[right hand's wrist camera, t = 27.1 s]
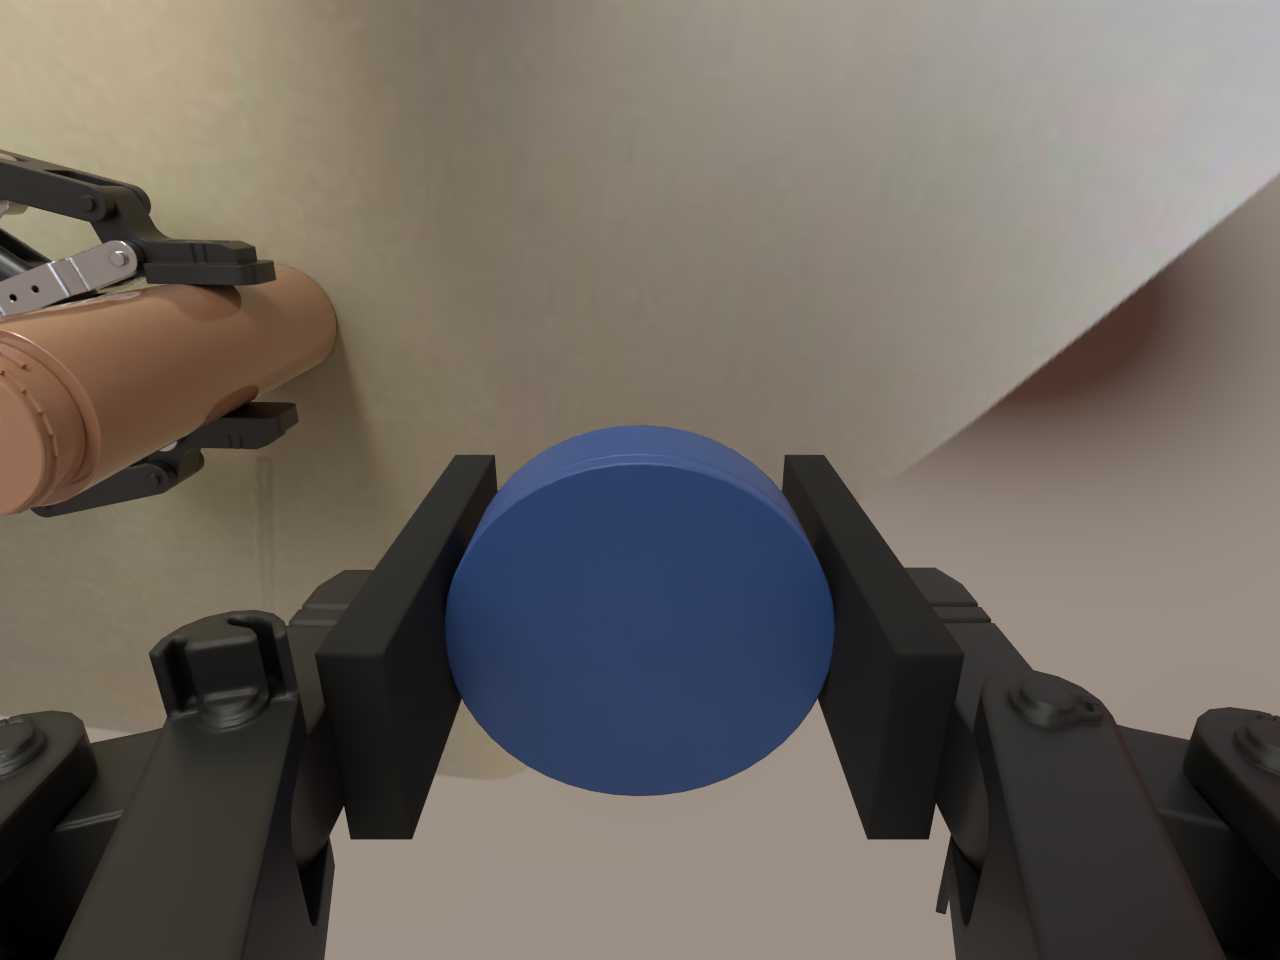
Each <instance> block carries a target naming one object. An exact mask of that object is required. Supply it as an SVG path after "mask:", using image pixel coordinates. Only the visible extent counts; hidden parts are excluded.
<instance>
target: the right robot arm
mask: <svg viewBox="0 0 1280 960" xmlns="http://www.w3.org/2000/svg"><path fill="white" fill-rule="evenodd" d="M782 493H783V494H784V495H785V497H786V499H787V500H788V502H789V504H790V505H791V507H792V508H793V510H794V512H795V513H796V515H797V517H798V519H799V521H800V523H801V526H802V528H803V530H804V532H805V534H806V536H807V538H808V540H809V542H810V544H811V546H812V548H813V550H814V552H815V554H816V556H817V558H818V560H819V562H820V565H821V567H822V569H823V572H824V574H825V576H826V579H827V581H828V584H829V588H830V592H831V596H832V600H833V604H834V615H835V633H834V642H833V651H832V659H831V665H830V670H829V672H828V675H827V678H826V680H825V683H824V686H823V688H822V691H821V693H820V694H819V696H818V701H819V703H820V706H821V709H822V712H823V715H824V718H825V720H826V723H827V726H828V729H829V732H830V734H831V737H832V740H833V743H834V746H835V749H836V751H837V754H838V757H839V760H840V763H841V766H842V768H843V771H844V774H845V777H846V780H847V783H848V785H849V788H850V791H851V794H852V797H853V800H854V802H855V805H856V808H857V811H858V814H859V816H860V819H861V822H862V825H863V828H864V831H865V833H866V836H867V839H929V836H930V830H931V825H932V820H933V815H934V810H935V805H936V804H937V806H938V808H939V810H940V812H941V814H942V816H943V818H944V820H945V822H946V824H947V826H948V828H949V830H950V832H951V837H950V842H949V846H948V851H947V856H946V861H945V866H944V870H943V875H942V880H941V885H940V890H939V894H938V900H937V907H936V912H938V913H942V914H946V910H947V905H948V901H949V902H950V911H951V919H952V928H953V936H954V946H955V954H956V960H1280V717H1279V716H1276V715H1275V716H1272V715H1271V714H1269V713H1265V712H1260V711H1254V710H1247V709H1239V708H1232V707H1228V708H1218V709H1210V710H1208V711H1207V712H1205V713H1204V714H1202V715H1201V716H1200V717H1198V719H1197V722H1196V725H1195V728H1194V731H1193V734H1192V736H1191V739H1190V740H1186V739H1182V738H1177V737H1172V736H1167V735H1162V734H1157V733H1152V732H1147V731H1142V730H1137V729H1132V728H1128V727H1124V726H1120V725H1117V724H1116V722H1115V720H1114V718H1113V716H1112V715H1111V713H1110V712H1109V711H1108V709H1107V708H1106V707H1105V706H1104V704H1103V703H1102V702H1101V701H1100V700H1099V699H1097V698H1096V697H1095V696H1093V695H1092V694H1091V693H1089V692H1088V691H1086V690H1085V689H1084V688H1082V687H1080V686H1078V685H1076V684H1074V683H1071V682H1069V681H1067V680H1065V679H1063V678H1060V677H1058V676H1054V675H1050V674H1046V673H1042V672H1038V671H1034V670H1033V669H1032V668H1031V667H1030V666H1029V664H1028V663H1027V662H1026V661H1025V660H1024V658H1023V657H1022V656H1021V655H1020V654H1019V652H1018V651H1017V650H1016V649H1015V648H1014V646H1013V645H1012V644H1011V643H1010V641H1009V640H1008V639H1007V638H1006V637H1005V635H1004V634H1003V633H1002V632H1001V631H1000V629H999V628H998V627H997V626H996V625H995V624H994V623H991V619H990V617H989V616H988V615H987V614H986V613H985V611H984V610H983V609H982V608H981V607H978V603H977V602H976V600H975V599H974V598H973V597H972V596H971V594H970V593H969V592H968V591H967V590H966V588H965V587H964V586H963V585H962V584H961V583H959V582H958V581H956V580H954V579H953V578H951V577H949V576H948V575H946V574H945V573H943V572H941V571H940V570H938V569H936V568H904V567H903V566H902V564H901V563H900V562H899V560H898V559H897V557H896V556H895V554H894V553H893V552H892V550H891V549H890V547H889V546H888V545H887V543H886V542H885V540H884V539H883V538H882V536H881V535H880V533H879V532H878V531H877V529H876V528H875V526H874V525H873V523H872V522H871V521H870V519H869V518H868V516H867V515H866V514H865V512H864V511H863V509H862V508H861V507H860V505H859V504H858V502H857V501H856V500H855V498H854V497H853V495H852V494H851V492H850V491H849V490H848V488H847V487H846V485H845V484H844V483H843V481H842V480H841V478H840V477H839V476H838V474H837V473H836V471H835V470H834V469H833V467H832V466H831V464H830V463H829V461H828V460H827V459H826V457H825V456H824V455H785V461H784V473H783V486H782ZM496 494H497V479H496V466H495V455H455V457H454V458H453V459H452V461H451V462H450V464H449V465H448V466H447V468H446V469H445V471H444V472H443V473H442V475H441V476H440V478H439V479H438V481H437V482H436V483H435V485H434V486H433V488H432V489H431V490H430V492H429V493H428V495H427V496H426V497H425V499H424V500H423V502H422V503H421V504H420V506H419V507H418V509H417V510H416V512H415V513H414V514H413V516H412V517H411V519H410V520H409V521H408V523H407V524H406V526H405V527H404V528H403V530H402V531H401V533H400V534H399V535H398V537H397V538H396V540H395V541H394V542H393V544H392V545H391V547H390V548H389V550H388V551H387V552H386V554H385V555H384V557H383V558H382V559H381V561H380V562H379V564H378V565H377V566H376V568H375V569H374V570H344V571H342V572H341V573H339V574H338V575H336V576H334V577H333V578H331V579H329V580H328V581H326V582H325V583H323V584H321V585H320V586H318V587H317V588H316V590H315V591H314V592H313V593H312V594H311V596H310V597H309V598H308V599H307V601H306V602H305V603H304V604H303V605H302V610H298V611H297V613H296V614H295V615H294V616H293V618H292V619H291V620H290V621H289V626H285V622H284V621H283V620H282V619H280V618H279V617H278V616H276V615H275V614H273V613H268V612H262V611H257V610H249V611H231V612H227V613H222V614H218V615H213V616H209V617H205V618H203V619H200V620H198V621H195V622H192V623H190V624H187V625H185V626H182V627H180V628H179V629H177V630H176V631H174V632H172V633H171V634H169V635H167V636H166V637H164V638H163V639H161V640H160V641H159V642H158V644H157V645H156V646H155V647H154V648H153V649H152V650H151V651H150V652H149V656H150V659H151V663H152V666H153V669H154V673H155V676H156V680H157V683H158V686H159V690H160V693H161V697H162V700H163V703H164V707H165V710H166V714H167V719H166V721H165V723H164V726H163V728H160V729H156V730H152V731H149V732H144V733H139V734H134V735H129V736H124V737H119V738H114V739H109V740H105V741H100V742H95V743H90V741H89V738H88V735H87V732H86V730H85V727H84V724H83V721H82V720H80V719H79V718H78V717H76V716H75V715H73V714H72V713H68V712H59V711H44V712H37V713H29V714H22V715H18V716H14V717H10V718H9V719H7V720H6V719H3V720H0V960H324V956H325V948H326V939H327V930H328V921H329V912H330V903H331V895H332V886H333V877H334V869H335V864H334V858H333V852H332V847H331V842H330V837H329V835H330V833H331V831H332V829H333V827H334V825H335V823H336V821H337V819H338V817H339V815H340V813H341V810H342V808H343V806H344V807H345V812H346V817H347V823H348V828H349V833H350V838H351V839H412V838H413V835H414V832H415V829H416V827H417V824H418V821H419V818H420V815H421V812H422V810H423V807H424V804H425V801H426V798H427V795H428V793H429V790H430V787H431V784H432V781H433V778H434V776H435V773H436V770H437V767H438V764H439V761H440V759H441V756H442V753H443V750H444V747H445V745H446V742H447V739H448V736H449V733H450V730H451V728H452V725H453V722H454V719H455V716H456V713H457V711H458V708H459V705H460V702H461V699H462V697H461V695H460V693H459V691H458V689H457V687H456V685H455V682H454V679H453V676H452V673H451V670H450V667H449V663H448V655H447V647H446V638H445V626H444V617H445V610H446V603H447V597H448V593H449V590H450V587H451V584H452V580H453V577H454V574H455V572H456V570H457V568H458V566H459V564H460V562H461V560H462V558H463V556H464V554H465V552H466V550H467V547H468V546H469V543H470V541H471V539H472V537H473V535H474V533H475V531H476V529H477V527H478V525H479V523H480V521H481V519H482V517H483V515H484V513H485V511H486V509H487V507H488V506H489V504H490V503H491V501H492V500H493V498H494V497H495V495H496Z"/></svg>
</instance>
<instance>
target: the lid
mask: <svg viewBox="0 0 1280 960" xmlns="http://www.w3.org/2000/svg"><path fill="white" fill-rule="evenodd" d="M444 626H445V638H446V647H447V655H448V663H449V667H450V670H451V673H452V676H453V679H454V682H455V685H456V687H457V689H458V691H459V693H460V695H461V697H462V699H463V701H464V703H465V705H466V706H467V708H468V709H469V711H470V712H471V714H472V715H473V717H474V718H475V720H476V721H477V722H478V724H479V725H480V726H481V727H482V728H483V729H484V730H485V731H486V733H487V734H488V735H489V736H490V737H491V738H492V739H493V740H494V741H495V742H496V743H498V744H499V745H500V746H501V747H502V748H503V749H504V750H506V751H507V752H508V753H509V754H511V755H512V756H514V757H515V758H517V759H518V760H519V761H521V762H522V763H524V764H525V765H527V766H529V767H531V768H532V769H534V770H536V771H538V772H540V773H542V774H544V775H546V776H548V777H550V778H553V779H555V780H558V781H561V782H563V783H566V784H568V785H572V786H575V787H579V788H582V789H586V790H590V791H595V792H601V793H607V794H613V795H628V796H651V795H665V794H672V793H679V792H685V791H689V790H693V789H697V788H701V787H705V786H708V785H711V784H713V783H716V782H719V781H722V780H724V779H727V778H729V777H731V776H733V775H735V774H737V773H739V772H741V771H743V770H746V769H747V768H749V767H751V766H752V765H754V764H755V763H757V762H758V761H760V760H762V759H763V758H765V757H766V756H767V755H769V754H770V753H771V752H772V751H774V750H775V749H776V748H777V747H778V746H780V745H781V744H782V743H783V742H784V741H785V740H786V739H787V738H788V737H789V736H790V735H791V734H792V733H793V732H794V731H795V730H796V729H797V728H798V727H799V725H800V724H801V723H802V721H803V720H804V719H805V717H806V716H807V714H808V713H809V712H810V710H811V709H812V707H813V705H814V704H815V702H816V700H817V698H818V696H819V694H820V693H821V691H822V688H823V686H824V683H825V680H826V678H827V675H828V672H829V670H830V665H831V659H832V651H833V642H834V633H835V615H834V604H833V600H832V596H831V592H830V588H829V584H828V581H827V579H826V576H825V574H824V572H823V569H822V567H821V565H820V562H819V560H818V558H817V556H816V554H815V552H814V550H813V548H812V546H811V544H810V542H809V540H808V538H807V536H806V534H805V532H804V530H803V528H802V526H801V523H800V521H799V519H798V517H797V515H796V513H795V512H794V510H793V508H792V507H791V505H790V504H789V502H788V500H787V499H786V497H785V495H784V494H783V493H782V492H781V491H780V489H779V488H778V487H777V486H776V485H775V483H774V482H773V481H772V480H771V479H770V478H769V477H768V476H767V475H766V474H765V473H764V472H763V471H761V470H760V469H759V468H758V467H757V466H756V465H755V464H754V463H752V462H751V461H749V460H748V459H746V458H745V457H743V456H742V455H740V454H739V453H737V452H736V451H734V450H732V449H730V448H728V447H726V446H724V445H722V444H720V443H718V442H716V441H714V440H712V439H709V438H706V437H703V436H700V435H697V434H695V433H692V432H687V431H683V430H678V429H673V428H668V427H657V426H645V425H641V426H619V427H613V428H607V429H601V430H596V431H592V432H589V433H586V434H582V435H579V436H576V437H572V438H570V439H568V440H566V441H564V442H561V443H559V444H557V445H555V446H553V447H550V448H549V449H547V450H546V451H544V452H542V453H541V454H539V455H538V456H536V457H534V458H533V459H531V460H530V461H529V462H528V463H526V464H525V465H524V466H523V467H522V468H520V469H519V470H518V471H517V472H516V473H514V474H513V475H512V476H511V477H510V479H509V480H508V481H507V482H506V483H505V484H504V485H503V486H502V487H501V489H500V490H499V491H498V492H497V494H496V495H495V497H494V498H493V500H492V501H491V503H490V504H489V506H488V507H487V509H486V511H485V513H484V515H483V517H482V519H481V521H480V523H479V525H478V527H477V529H476V531H475V533H474V535H473V537H472V539H471V541H470V543H469V546H468V547H467V550H466V552H465V554H464V556H463V558H462V560H461V562H460V564H459V566H458V568H457V570H456V572H455V574H454V577H453V580H452V584H451V587H450V590H449V593H448V597H447V603H446V610H445V617H444Z"/></svg>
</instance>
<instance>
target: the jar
mask: <svg viewBox="0 0 1280 960" xmlns="http://www.w3.org/2000/svg"><path fill="white" fill-rule="evenodd" d="M274 267H275V273H276V280H275V281H271V282H266V283H262V284H258V285H245V286H237V285H192V284H164V285H159V286H153V287H148V288H143V289H138V290H133V291H128V292H122V293H117V294H112V295H107V296H102V297H97V298H91V299H86V300H81V301H76V302H71V303H66V304H60V305H55V306H50V307H45V308H40V309H35V310H30V311H24V312H19V313H14V314H9V315H4V316H0V516H2V515H9V514H16V513H18V514H19V513H21V512H24V511H26V510H28V509H30V508H32V507H37V506H48V505H53V504H57V503H60V502H63V501H66V500H68V499H70V498H71V497H73V496H75V495H77V494H79V493H81V492H83V491H85V490H86V489H88V488H90V487H92V486H94V485H96V484H98V483H99V482H101V481H103V480H105V479H107V478H109V477H111V476H112V475H114V474H116V473H118V472H120V471H122V470H124V469H125V468H127V467H129V466H131V465H133V464H135V463H137V462H139V461H140V460H142V459H144V458H146V457H148V456H150V455H152V454H153V453H155V452H157V451H159V450H161V449H163V448H165V447H166V446H168V445H170V444H172V443H174V442H176V441H178V440H179V439H181V438H183V437H185V436H187V435H189V434H191V433H193V432H194V431H196V430H198V429H200V428H202V427H204V426H206V425H207V424H209V423H211V422H213V421H215V420H217V419H219V418H220V417H222V416H224V415H226V414H228V413H230V412H232V411H233V410H235V409H237V408H239V407H241V406H243V405H245V404H247V403H248V402H250V401H252V400H254V399H256V398H258V397H260V396H261V395H263V394H265V393H267V392H269V391H271V390H273V389H274V388H276V387H278V386H280V385H282V384H284V383H286V382H287V381H289V380H291V379H293V378H295V377H297V376H299V375H301V374H302V373H304V372H306V371H308V370H310V369H312V368H314V367H315V366H317V365H319V364H320V363H321V362H322V361H323V360H324V359H325V358H326V357H327V356H328V355H329V353H330V352H331V350H332V348H333V345H334V342H335V339H336V331H337V325H336V317H335V313H334V310H333V307H332V305H331V303H330V301H329V299H328V297H327V296H326V294H325V292H324V291H323V290H322V289H321V288H320V286H319V285H318V284H317V283H316V282H315V281H314V280H312V279H311V278H310V277H308V276H307V275H305V274H304V273H302V272H300V271H298V270H296V269H294V268H291V267H288V266H283V265H275V264H274Z"/></svg>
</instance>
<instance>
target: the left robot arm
mask: <svg viewBox="0 0 1280 960" xmlns="http://www.w3.org/2000/svg"><path fill="white" fill-rule="evenodd" d="M28 206H31V207H35V208H38V209H42V210H46V211H50V212H54V213H58V214H61V215H65V216H69V217H73V218H77V219H80V220H84V221H88V222H90V223H91V225H92V226H93V228H94V230H95V231H96V233H97V235H98V237H99V238H100V240H101V242H102V243H103V244H101V245H99V246H96V247H94V248H91V249H89V250H86V251H84V252H81V253H79V254H76V255H74V256H71V257H68V258H65V259H60V260H56V261H51V260H49V259H48V258H46V257H45V256H43V255H42V254H40V253H39V252H37V251H36V250H34V249H32V248H31V247H29V246H28V245H26V244H25V243H23V242H22V241H20V240H18V239H17V238H15V237H14V236H12V235H11V234H9V233H8V232H6V231H4V230H3V229H1V228H0V316H4V315H9V314H14V313H19V312H24V311H30V310H35V309H40V308H45V307H50V306H55V305H60V304H66V303H71V302H76V301H81V300H86V299H91V298H97V297H102V296H106V295H108V294H111V293H114V292H116V291H119V290H121V289H124V288H127V287H129V286H131V285H133V284H134V283H135V282H137V281H140V280H143V279H145V278H146V280H147V283H148V284H192V285H237V286H245V285H258V284H262V283H266V282H271V281H275V280H276V273H275V267H274V261H272V260H257V256H256V250H255V247H254V246H252V245H249V244H247V243H244V242H242V241H223V240H180V239H172V238H169V237H167V236H165V235H163V234H162V233H161V232H160V231H159V230H158V229H157V228H156V227H155V225H154V224H153V222H152V220H151V218H150V217H149V213H150V210H151V203H150V200H149V197H148V196H147V194H146V193H145V192H144V191H143V190H142V189H141V188H139V187H137V186H134V185H131V184H127V183H123V182H120V181H116V180H112V179H108V178H105V177H101V176H97V175H93V174H90V173H86V172H82V171H78V170H75V169H71V168H67V167H64V166H60V165H56V164H52V163H49V162H45V161H41V160H37V159H34V158H30V157H26V156H22V155H19V154H15V153H11V152H8V151H4V150H0V218H1V217H2V216H4V215H18V214H22V213H24V212H25V211H26V210H27V208H28ZM297 422H298V416H297V410H296V404H294V403H277V402H248V403H247V404H245V405H243V406H241V407H239V408H237V409H235V410H233V411H232V412H230V413H228V414H226V415H224V416H222V417H220V418H219V419H217V420H215V421H213V422H211V423H209V424H207V425H206V426H204V427H202V428H200V429H198V430H196V431H194V432H193V433H191V434H189V435H187V436H185V437H183V438H181V439H179V440H178V441H176V442H174V443H172V444H170V445H168V446H166V447H165V448H163V449H161V450H159V451H157V452H155V453H153V454H152V455H150V456H148V457H146V458H144V459H142V460H140V461H139V462H137V463H135V464H133V465H131V466H129V467H127V468H125V469H124V470H122V471H120V472H118V473H116V474H114V475H112V476H111V477H109V478H107V479H105V480H103V481H101V482H99V483H98V484H96V485H94V486H92V487H90V488H88V489H86V490H85V491H83V492H81V493H79V494H77V495H75V496H73V497H71V498H70V499H68V500H66V501H63V502H60V503H57V504H53V505H48V506H37V507H32V508H30V509H31V510H32V511H33V512H34V513H36V514H37V515H39V516H42V517H53V516H58V515H62V514H67V513H72V512H77V511H81V510H86V509H91V508H96V507H100V506H105V505H110V504H115V503H119V502H124V501H129V500H134V499H138V498H143V497H148V496H152V495H157V494H162V493H164V492H166V491H168V490H169V489H171V488H172V487H174V486H176V485H177V484H179V483H180V482H182V481H183V480H185V479H187V478H188V477H190V476H191V475H193V474H195V473H196V472H198V471H199V470H201V469H202V468H203V466H204V457H203V455H202V453H201V452H200V450H201V448H233V449H241V448H243V449H259V448H261V447H264V446H266V445H269V444H271V443H272V442H273V441H275V440H276V439H278V438H279V437H281V436H282V435H284V434H285V431H286V430H287V429H289V428H290V427H292V426H293V425H295V424H296V423H297Z"/></svg>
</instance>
